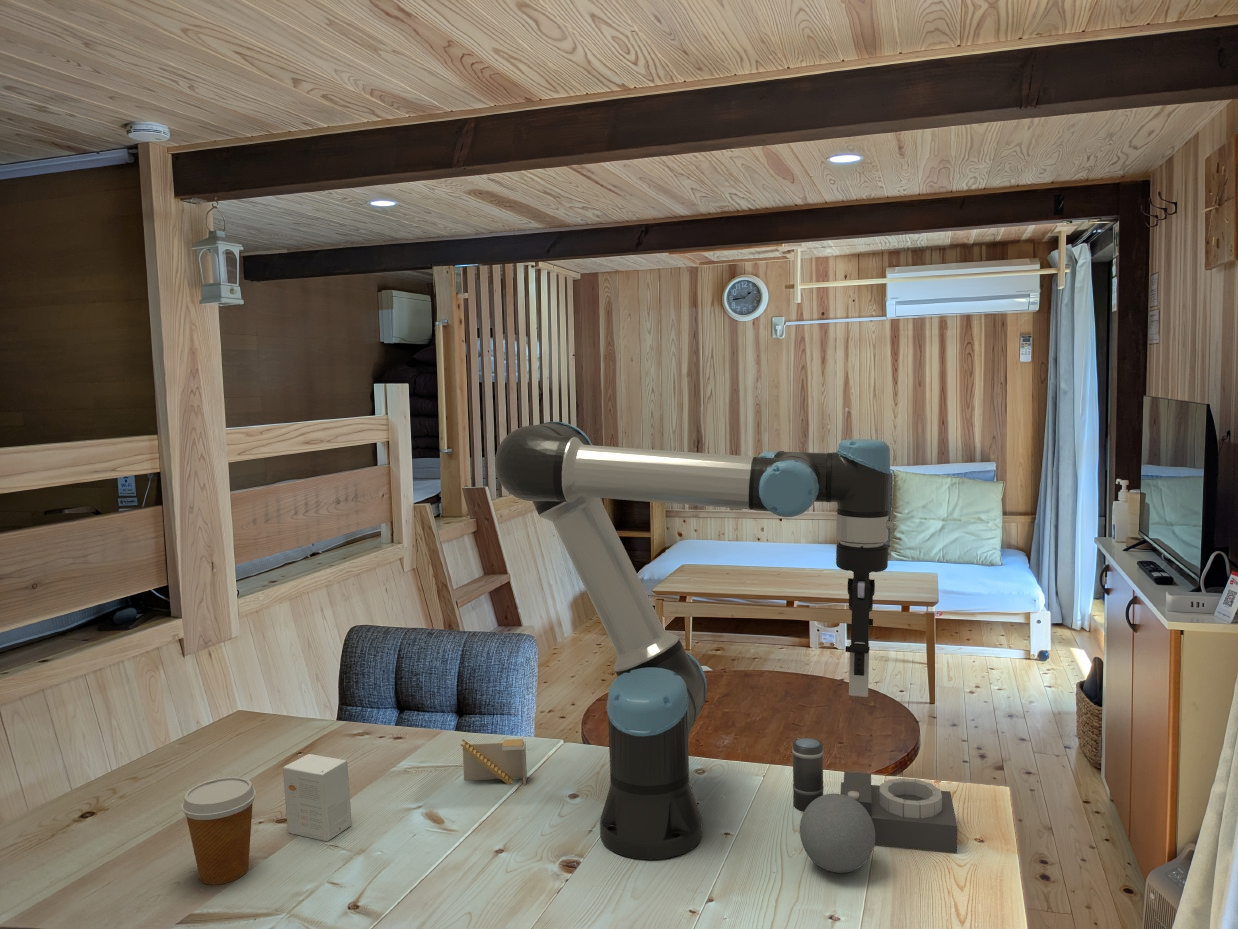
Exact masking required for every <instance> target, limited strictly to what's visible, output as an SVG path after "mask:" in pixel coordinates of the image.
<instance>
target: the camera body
mask: <svg viewBox="0 0 1238 929" xmlns="http://www.w3.org/2000/svg"><path fill="white" fill-rule="evenodd" d="M843 773H844V774H843V782H841V783H840V793H839V794H843V795H846V796H849V797H851V798H853V799H855V800H856V801H858V802H859V803H860V804H861V805H862V806H863V807H864V808H865V809H866V810H867V812H868V813H869V815H870V817H871V819H872V822H873V825H874V828H875V845H874V846H878V847H879V846H880V847H889V848H898V849H900V848H901V849H908V850H909V849H910V850H919V851H928V852H929V851H931V852H938V853H939V852H941V853H951V854H958V822H957V817H956V812H955V807H954V802H953V798H952V792H951V791H950V790H949V791H948V790H941V789H940V788H939V787H937V786H936V785H934V784H932V783H931V782H928V781H925V780H921V779H917V778H907V777H905V778H904V777H898V778H891V779H887V780H885V781H883V782H882V783H881V784H880V785H879V784H872V773H871V772H870V773H868V772H858V771H857V772H856V771H844V772H843Z"/></svg>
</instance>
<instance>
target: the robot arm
mask: <svg viewBox="0 0 1238 929" xmlns="http://www.w3.org/2000/svg"><path fill="white" fill-rule="evenodd" d="M837 447H838V448H837V450H836V451H834V452H833V451H832V452H805V451H784V450H777V451H765V452H762V453H760V454H759V456H758V457H757V456H749V455H748V456H747V455H737V454H736V455H733V454H720V453H705V452H690V451H678V450H664V449H663V450H662V449H648V448H647V449H646V448H633V447H621V446H620V447H619V446H607V445H593V444H592V442H591V439H590V438H589V436H587V434H586V433H585V432H584V431H583V430H581V429H580V428H579V427H576V426H575V425H572V424H570V423H566V422H563V421H562V422H561V421H545V422H544V423H541V424H533V425H531V424H530V425H526V426H522V427H518V428H516V429H515V430H513V431H510V432H509V433H508V434H507V435H506V436H505V437H504V438H503V439H502V441H500V444H499V446H498V447H497V450H496V454H495V457H494V458H495V459H494V460H495V461H494V466H495V474H496V477H497V478H498V482H499V483H500V485H501V486H502V487H503V489H505V491H507V493H509V494H510V495H512V496H513V497H515V498H517V499H519V500H522V501H528V502H532V504H533V506H534V508H535V510H536V512H537V514H538V516H539V518H542V519H545V520H548V521H550V522H551V523H552V524H553V525H554V526H553V527H554V528H555V530H556V531H557V534H558V536H559V539H560V540H561V542H562V544H563V546H564V548H565V550H566V553H567V554H568V556H569V559H570V560H571V562H572V564H573V566H574V568H575V571H576V572H577V575H578V577H579V578H580V582H581V583H582V585H583V587H584V589H585V591H586V592H587V595H588V597H589V599H590V601H591V603H592V605H593V607H594V609H595V611H596V613H597V615H598V618H599V620H600V622H601V624H602V626H603V628H604V630H605V632H606V634H607V636H608V638H609V639H610V642H611V644H612V646H613V648H614V650H615V652H616V659H615V663H614V665H613V670H614V672H615V674H616V678H615V679H614V680H613V681H612V683H610V686H609V688H608V693H607V694H608V695H607V696H608V697H607V701H606V712H607V717H608V722H607V723H608V747H609V771H610V772H609V774H610V778H609V779H610V782H609V783H610V784H609V788H608V792H607V795H606V798H605V802H604V806H603V808H602V811H601V815H600V819H599V837H600V840H601V842H602V844H603V845H604V846H605V847H606V848H607V849H609V850H610V851H611V852H614V853H615V854H618V855H621V856H623V857H627V858H630V859H638V860H663V859H671V858H673V857H676V856H677V857H678V856H680V855H683V854H685V853H687V852H690V851H691V850H693V849H694V848H696V847H697V845H698V844H699V843H701V840H702V838H703V818H702V815H701V811H700V809H699V806H698V803H697V801H696V798H695V795H694V793H693V790H692V786H691V784H690V764H689V762H690V761H689V760H690V759H689V754H690V753H689V752H690V751H689V738H690V733H691V732H692V728H693V727H694V725H695V722H696V721H697V719H698V717H699V716H700V714H701V713H702V710H703V708H704V705H705V703H706V699H707V688H708V687H707V685H708V684H707V678H706V674H705V671H704V669H703V667H702V665H701V663H699V661H698V659H696V658H695V656H693V655H691V653H688V652H686V650H685V648H684V645H683V644H682V642H681V640H680V637H679V636H678V635H676V634H674V633H671V632H668V631H666V630H665V628H664V627H663V624H662V623H661V620H660V617H659V616H658V614H657V612H656V609H655V608H654V606H653V604H652V601H651V599H650V597H649V596H648V593H647V591H646V590H645V588H644V586H643V584H642V581H641V579H640V577H639V575H638V573H637V571H636V569H635V567H634V565H633V563H632V561H631V559H630V557H629V555H628V552H627V550H626V549H625V546H624V544H623V543H622V540H621V539H620V537H619V535H618V532H617V531H616V528H615V526H614V524H613V522H612V520H611V518H610V516H609V515H608V512H607V510H606V508H605V506H604V503H603V501H602V500H601V499H609V500H610V499H611V500H613V499H614V500H623V501H624V500H626V501H638V502H650V503H651V502H652V503H662V504H663V503H666V504H677V505H686V506H702V507H712V508H715V507H716V508H727V509H728V508H729V509H739V510H740V509H741V510H751V511H757V512H769V513H772V514H774V515H776V516H778V517H781V518H793V517H797V516H800V515H801V514H804V513H805V512H806V511H808V510H809V509H810V508H811V507H812V506H813V505H814V503H837V504H836V505H837V510H836V524H835V525H836V526H835V527H836V529H835V531H836V533H835V534H836V536H835V538H836V539H837V540H838V541H839V542H837V544H836V545H835V546H836V549H835V552H836V553H835V554H836V555H835V564H836V566H837V568H839V569H840V570H842V571H846V572H847V571H850V572H852V573H853V575H852V576H853V578H851V577H848V578H847V594H848V609H849V610H850V611H851V624H850V625H851V627H850V628H851V630H850V633H851V634H850V645H845V650H844V651H845V653H849V666H848V668H849V670H848V696H852V697H853V696H854V697H863V698H864V697H865V698H866V697H867V698H868V697H869V674H870V670H869V669H870V650H871V648H870V644H869V643H870V641H869V640H870V626H874V618H870V612H872V611H873V607H874V605H873V604H874V595H875V594H876V592H875V591H876V588H875V586H876V583H875V579H870V574H871V573H880V572H884V571H885V570H887V569H888V567H889V564H888V562H889V546H887V544H886V542H888V540H889V530H888V529H892V528H893V527H894V524H893V522H892V521H889V513H890V511H889V510H890V496H891V494H890V493H891V490H890V489H891V450H890V445H888V444H887V442H886V441H883V440H882V439H881V440H880V439H868V438H867V439H865V438H864V439H862V438H861V439H860V438H858V439H855V438H853V439H851V438H850V439H843V440H840V441H839V443H838V446H837Z"/></svg>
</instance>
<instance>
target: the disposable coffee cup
mask: <svg viewBox="0 0 1238 929" xmlns="http://www.w3.org/2000/svg"><path fill="white" fill-rule="evenodd" d="M256 794H257V791H256V789H255V787H254V786H253V784H252V782H251V780H249V779H248V778H244V777H241V776H240V777H239V776H227V777H219V778H215V779H210V780H206V781H204V782H201V783H199V784H196V785H195V786H193V787H192V788H190V789H189V790H187V792H186V793H185V794H184V800H183V802H181V805H180V806H181V811H182V812H183V813H184V816H186V821H187V825H188V831H189V835H190V840H191V843H192V848H193V850H192V851H193V854H194V858H195V862H196V867H197V871H198V876H199V880H200V882H202V883H203V884H206V885H223V884H227V883H230V882H232V881H235V880H238V879H239V878H241V877H243V876H244V875H245V874H246V873H247V872H248V871H249V863H250V846H251V836H252V835H251V834H252V833H251V832H252V819H253V803H254V801H255V798H256Z"/></svg>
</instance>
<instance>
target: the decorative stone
mask: <svg viewBox="0 0 1238 929" xmlns="http://www.w3.org/2000/svg"><path fill="white" fill-rule="evenodd" d="M799 836H800V841H801V846H803V850H804V851H805V854H806V855H807V856H808V858H810V860H811V861H812V862H813V863H814V864H816V865H817V866H818V867H820V868H821V869H824V870H826V871H828V872H832V873H839V874H840V873H842V874H843V873H845V874H846V873H850V872H853V871H855V870H858V869H859V868H861V867H862V866H863V865H864V864H865V863H866V862H867V861H868V860H869V859H870V857H871V855H872V853H873V850H874V848H875V846H876V845H875V828H874V825H873V822H872V819H871V817H870V815H869V813H868V812H867V810H866V809H865V808H864V807H863V806H862V805H861V804H860V803H859V802H858V801H856V800H855V799H853V798H851V797H849V796H846V795H843V794H840V793H826V794H823V796H820V797H818V798H816V799H815V800H813V801H812V802H811V803H810V804H809V805H808V806H807V808H806V809H805V811H804V812H803V813H802V815H801V818H800V823H799Z"/></svg>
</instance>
